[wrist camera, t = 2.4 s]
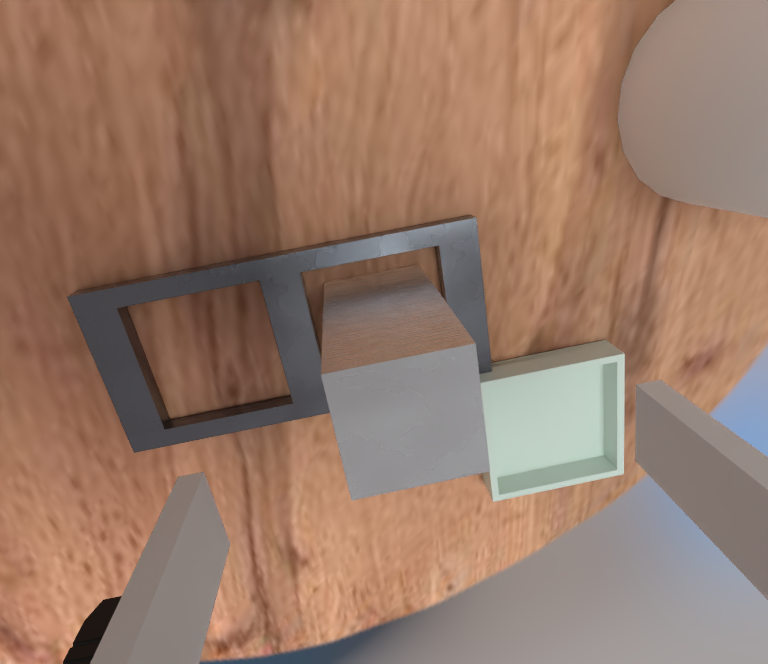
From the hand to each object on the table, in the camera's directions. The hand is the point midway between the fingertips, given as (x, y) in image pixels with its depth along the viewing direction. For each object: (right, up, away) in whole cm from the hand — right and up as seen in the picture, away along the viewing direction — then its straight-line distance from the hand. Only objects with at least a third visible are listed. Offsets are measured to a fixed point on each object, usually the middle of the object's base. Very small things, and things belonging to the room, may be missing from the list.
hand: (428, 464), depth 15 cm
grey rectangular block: (-2, +5, +12) cm, 13 cm away
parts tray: (+8, -1, +15) cm, 17 cm away
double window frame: (-6, +4, +12) cm, 14 cm away
